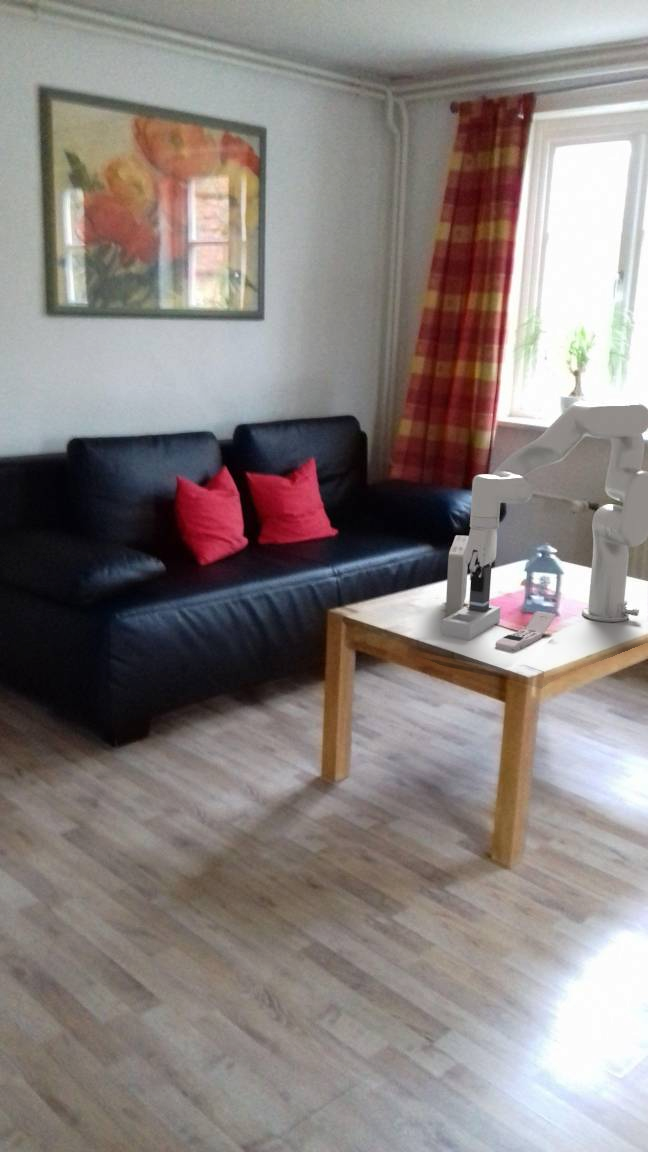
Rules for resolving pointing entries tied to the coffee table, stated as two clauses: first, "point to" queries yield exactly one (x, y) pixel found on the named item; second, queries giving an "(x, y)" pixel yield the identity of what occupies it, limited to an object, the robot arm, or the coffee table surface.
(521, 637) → the mobile phone
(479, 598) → the plug
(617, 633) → the coffee table surface
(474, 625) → the socket block
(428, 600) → the coffee table surface
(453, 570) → the network device
